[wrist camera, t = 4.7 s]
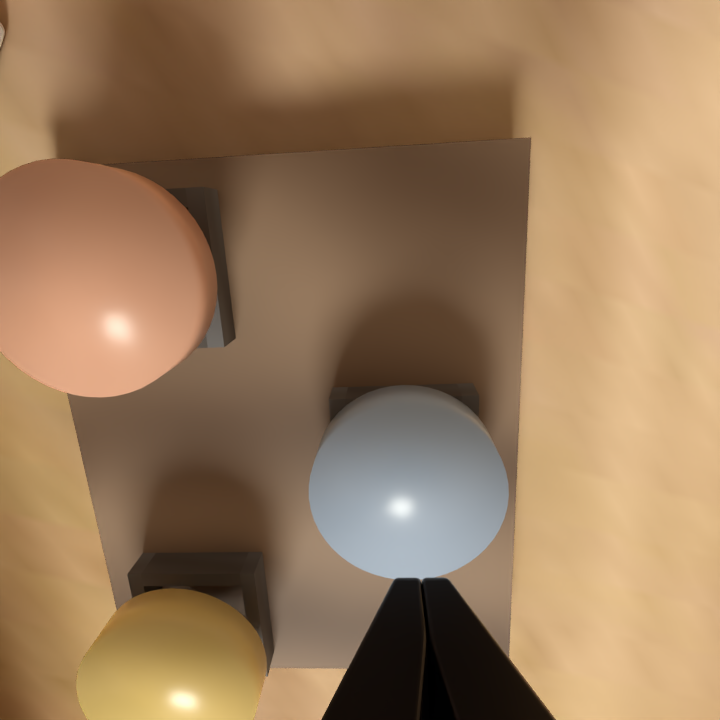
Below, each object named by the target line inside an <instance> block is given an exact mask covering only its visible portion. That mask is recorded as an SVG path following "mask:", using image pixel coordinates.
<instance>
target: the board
mask: <svg viewBox="0 0 720 720" xmlns="http://www.w3.org/2000/svg"><path fill="white" fill-rule="evenodd" d="M530 149H531V138H515V139H499V140H484V141H468V142H452V143H436V144H420V145H404V146H388V147H372V148H357V149H341V150H325V151H309V152H293V153H277V154H261V155H246V156H230V157H214V158H198V159H182V160H166V161H150V162H134V163H119V164H103V165H104V166H109V167H114V168H119V169H123V170H126V171H130V172H133V173H136V174H138V175H141V176H143V177H145V178H147V179H150V180H151V181H153V182H155V183H156V184H158V185H160V186H161V187H163V188H164V189H165V190H167V191H168V192H169V193H170V194H172V195H173V196H174V197H175V198H176V199H177V200H178V201H179V202H180V203H181V204H182V205H183V206H184V207H185V208H186V209H187V210H188V212H189V213H190V214H191V215H192V217H193V218H194V219H195V221H196V222H197V224H198V225H199V227H200V229H201V230H202V232H203V234H204V236H205V238H206V240H207V243H208V245H209V247H210V250H211V253H212V256H213V259H214V264H215V269H216V275H217V302H216V307H215V312H214V316H213V319H212V322H211V325H210V327H209V329H208V331H207V333H206V335H205V337H204V339H203V340H202V341H201V343H200V344H199V346H198V347H197V348H196V349H195V350H194V352H193V353H192V354H191V355H190V356H189V357H188V358H186V359H185V360H184V361H182V362H181V363H180V364H178V365H177V366H176V367H174V368H173V369H171V370H170V371H168V372H167V373H165V374H164V375H162V376H161V377H159V378H158V379H156V380H155V381H153V382H152V383H150V384H148V385H146V386H144V387H143V388H141V389H138V390H136V391H133V392H130V393H127V394H123V395H118V396H112V397H84V396H78V395H73V394H69V393H67V394H68V398H69V403H70V407H71V412H72V416H73V420H74V425H75V429H76V433H77V438H78V442H79V446H80V451H81V455H82V460H83V464H84V468H85V473H86V477H87V481H88V486H89V490H90V494H91V499H92V503H93V508H94V512H95V516H96V521H97V525H98V529H99V534H100V538H101V542H102V547H103V551H104V556H105V560H106V564H107V569H108V573H109V577H110V582H111V586H112V590H113V595H114V599H115V604H116V608H117V610H118V609H119V608H120V607H121V606H122V605H123V604H124V603H126V602H127V601H129V600H130V599H132V598H134V597H136V596H138V595H140V594H143V593H146V592H149V591H153V590H159V589H170V588H175V589H187V590H193V591H197V592H201V593H204V594H207V595H210V596H212V597H215V598H217V599H219V600H221V601H223V602H225V603H227V604H228V605H230V606H231V607H233V608H234V609H236V610H237V611H238V612H239V613H240V614H242V615H243V616H244V617H245V618H246V619H247V620H248V621H249V622H250V623H251V625H252V626H253V627H254V629H255V630H256V632H257V633H258V635H259V637H260V639H261V641H262V643H263V646H264V649H265V653H266V659H267V669H266V676H268V673H269V669H270V668H343V669H348V667H349V665H350V663H351V661H352V659H353V658H354V656H355V654H356V652H357V650H358V648H359V646H360V644H361V642H362V640H363V638H364V636H365V634H366V632H367V630H368V628H369V626H370V625H371V623H372V621H373V619H374V617H375V615H376V613H377V611H378V609H379V607H380V605H381V603H382V601H383V599H384V597H385V595H386V593H387V592H388V590H389V588H390V586H391V584H392V582H393V580H394V579H391V578H385V577H381V576H378V575H374V574H371V573H369V572H366V571H364V570H362V569H360V568H358V567H356V566H354V565H352V564H351V563H349V562H348V561H346V560H345V559H344V558H342V557H341V556H340V555H339V554H338V553H337V552H335V551H334V550H333V549H332V548H331V546H330V545H329V544H328V543H327V542H326V541H325V539H324V538H323V536H322V534H321V533H320V531H319V530H318V527H317V525H316V523H315V521H314V518H313V515H312V512H311V508H310V502H309V481H310V474H311V471H312V467H313V464H314V461H315V457H316V454H317V451H318V448H319V444H320V441H321V439H322V436H323V434H324V432H325V430H326V428H327V427H328V425H329V424H330V422H331V421H332V419H333V418H334V417H335V416H336V415H337V414H338V412H340V411H341V410H342V409H343V408H344V407H345V406H346V405H347V404H349V403H350V402H352V401H353V400H355V399H356V398H358V397H360V396H362V395H364V394H366V393H368V392H371V391H374V390H377V389H380V388H385V387H389V386H398V385H416V386H423V387H429V388H432V389H435V390H439V391H441V392H444V393H446V394H448V395H451V396H452V397H454V398H456V399H458V400H459V401H461V402H462V403H463V404H465V405H466V406H467V407H469V408H470V409H471V410H472V411H473V412H474V413H475V414H476V415H477V416H478V417H479V419H480V420H481V421H482V423H483V424H484V426H485V427H486V429H487V431H488V433H489V435H490V437H491V439H492V441H493V443H494V445H495V447H496V449H497V451H498V453H499V455H500V457H501V459H502V462H503V464H504V467H505V470H506V474H507V479H508V488H509V498H508V507H507V511H506V514H505V518H504V520H503V523H502V525H501V527H500V529H499V531H498V533H497V534H496V536H495V538H494V539H493V540H492V542H491V543H490V544H489V545H488V547H487V548H486V549H485V550H484V551H483V552H482V553H481V554H479V555H478V556H477V557H476V558H475V559H473V560H472V561H470V562H469V563H468V564H466V565H464V566H462V567H461V568H459V569H457V570H454V571H452V572H450V573H447V574H444V575H441V576H437V577H445V578H447V579H449V580H450V581H451V582H452V584H453V585H454V586H455V588H456V589H457V590H458V592H459V593H460V594H461V596H462V597H463V598H464V600H465V601H466V602H467V604H468V605H469V606H470V607H471V609H472V610H473V611H474V613H475V614H476V615H477V617H478V618H479V619H480V621H481V622H482V623H483V625H484V626H485V627H486V629H487V630H488V631H489V632H490V634H491V635H492V636H493V638H494V639H495V640H496V642H497V643H498V644H499V646H500V647H501V648H502V650H503V651H504V652H505V654H506V655H507V656H508V657H509V643H510V620H511V596H512V573H513V549H514V526H515V502H516V478H517V455H518V431H519V408H520V384H521V361H522V337H523V314H524V290H525V267H526V243H527V220H528V196H529V173H530ZM422 580H423V579H421V580H420V581H421V583H422Z"/></svg>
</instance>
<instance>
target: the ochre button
mask: <svg viewBox="0 0 720 720" xmlns="http://www.w3.org/2000/svg"><path fill="white" fill-rule="evenodd" d="M266 669H267V659H266V653H265V649H264V646H263V643H262V641H261V639H260V637H259V635H258V633H257V632H256V630H255V629H254V627H253V626H252V625H251V623H250V622H249V621H248V620H247V619H246V618H245V617H244V616H243V615H242V614H240V613H239V612H238V611H237V610H236V609H234V608H233V607H231V606H230V605H228V604H227V603H225V602H223V601H221V600H219V599H217V598H215V597H212V596H210V595H207V594H204V593H201V592H197V591H193V590H187V589H175V588H170V589H159V590H153V591H149V592H146V593H143V594H140V595H138V596H136V597H134V598H132V599H130V600H129V601H127V602H126V603H124V604H123V605H122V606H121V607H120V608H119V609H118V610H117V611H116V612H115V613H114V615H113V616H112V617H111V619H110V620H109V622H108V623H107V624H106V626H105V627H104V629H103V630H102V632H101V633H100V634H99V636H98V637H97V639H96V640H95V642H94V643H93V644H92V646H91V647H90V649H89V650H88V652H87V653H86V654H85V656H84V658H83V660H82V661H81V663H80V666H79V669H78V672H77V678H76V691H77V696H78V700H79V703H80V706H81V709H82V711H83V712H84V714H85V716H86V718H87V719H88V720H254V717H255V713H256V710H257V706H258V702H259V698H260V695H261V691H262V687H263V683H264V680H265V676H266Z"/></svg>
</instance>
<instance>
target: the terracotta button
mask: <svg viewBox="0 0 720 720" xmlns="http://www.w3.org/2000/svg"><path fill="white" fill-rule="evenodd" d="M216 302H217V275H216V269H215V264H214V259H213V256H212V253H211V250H210V247H209V245H208V243H207V240H206V238H205V236H204V234H203V232H202V230H201V229H200V227H199V225H198V224H197V222H196V221H195V219H194V218H193V217H192V215H191V214H190V213H189V212H188V210H187V209H186V208H185V207H184V206H183V205H182V204H181V203H180V202H179V201H178V200H177V199H176V198H175V197H174V196H173V195H172V194H170V193H169V192H168V191H167V190H165V189H164V188H163V187H161V186H160V185H158V184H156V183H155V182H153V181H151V180H150V179H147V178H145V177H143V176H141V175H138V174H136V173H133V172H130V171H126V170H123V169H119V168H114V167H109V166H104V165H99V164H95V163H90V162H85V161H78V160H72V159H47V160H40V161H35V162H31V163H28V164H25V165H21V166H19V167H17V168H15V169H13V170H11V171H9V172H7V173H6V174H5V175H3V176H2V177H0V351H1V352H2V354H3V355H4V356H5V357H6V358H7V359H8V360H9V361H11V362H12V363H13V364H14V365H15V366H16V367H18V368H19V369H20V370H21V371H23V372H24V373H26V374H27V375H29V376H30V377H32V378H33V379H35V380H37V381H39V382H41V383H43V384H44V385H46V386H49V387H51V388H54V389H56V390H59V391H62V392H65V393H69V394H73V395H78V396H84V397H112V396H118V395H123V394H127V393H130V392H133V391H136V390H138V389H141V388H143V387H144V386H146V385H148V384H150V383H152V382H153V381H155V380H156V379H158V378H159V377H161V376H162V375H164V374H165V373H167V372H168V371H170V370H171V369H173V368H174V367H176V366H177V365H178V364H180V363H181V362H182V361H184V360H185V359H186V358H188V357H189V356H190V355H191V354H192V353H193V352H194V350H195V349H196V348H197V347H198V346H199V344H200V343H201V341H202V340H203V339H204V337H205V335H206V333H207V331H208V329H209V327H210V325H211V322H212V319H213V316H214V312H215V307H216Z"/></svg>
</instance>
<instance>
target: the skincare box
mask: <svg viewBox="0 0 720 720" xmlns="http://www.w3.org/2000/svg"><path fill="white" fill-rule="evenodd" d="M4 34H5V29H4V27H3V25H2V24H1V23H0V48H1V45H2V42H3V39H4Z"/></svg>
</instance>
